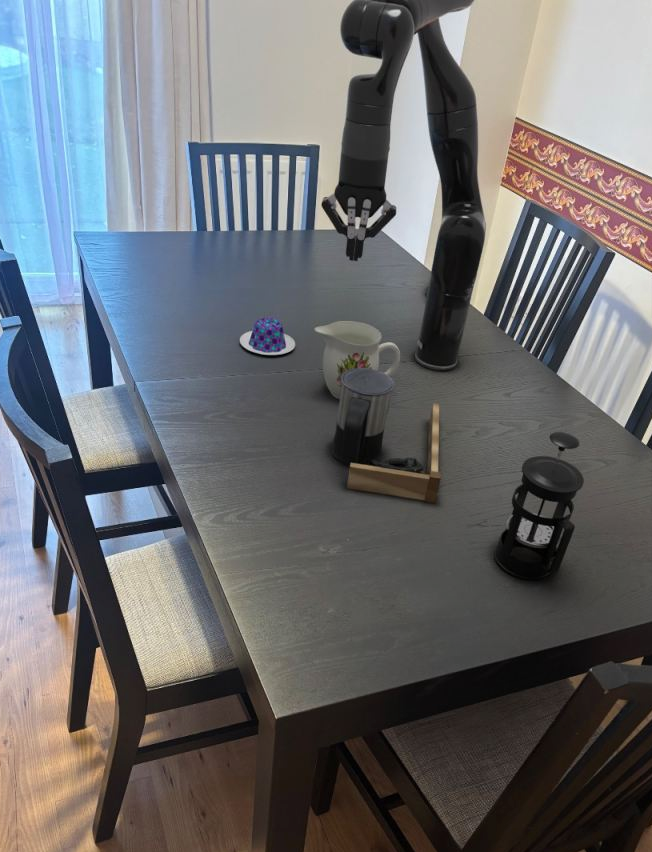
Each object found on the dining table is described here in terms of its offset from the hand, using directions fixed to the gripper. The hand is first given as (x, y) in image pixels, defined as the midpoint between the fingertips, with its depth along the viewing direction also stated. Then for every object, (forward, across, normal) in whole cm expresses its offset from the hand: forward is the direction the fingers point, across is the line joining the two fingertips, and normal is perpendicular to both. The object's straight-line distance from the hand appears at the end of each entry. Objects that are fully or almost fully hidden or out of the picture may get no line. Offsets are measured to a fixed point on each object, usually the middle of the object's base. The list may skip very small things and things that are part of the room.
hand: (353, 259), depth 134 cm
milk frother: (+30, +8, -16) cm, 35 cm away
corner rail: (+30, +11, -13) cm, 35 cm away
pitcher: (+30, +2, +8) cm, 31 cm away
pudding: (+30, -17, +24) cm, 42 cm away
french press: (+31, +32, -38) cm, 59 cm away
